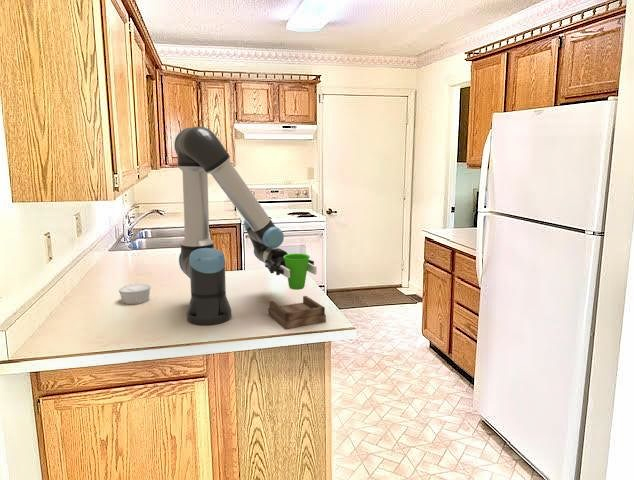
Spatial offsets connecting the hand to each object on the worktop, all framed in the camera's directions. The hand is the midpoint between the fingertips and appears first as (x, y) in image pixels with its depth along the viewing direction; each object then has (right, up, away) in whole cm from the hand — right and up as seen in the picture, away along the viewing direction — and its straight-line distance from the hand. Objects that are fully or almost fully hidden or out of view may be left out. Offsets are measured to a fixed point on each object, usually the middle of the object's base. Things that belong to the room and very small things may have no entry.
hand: (302, 272), depth 155 cm
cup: (-2, -6, +5) cm, 8 cm away
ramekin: (-65, -13, +25) cm, 71 cm away
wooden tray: (-2, -17, +7) cm, 18 cm away
